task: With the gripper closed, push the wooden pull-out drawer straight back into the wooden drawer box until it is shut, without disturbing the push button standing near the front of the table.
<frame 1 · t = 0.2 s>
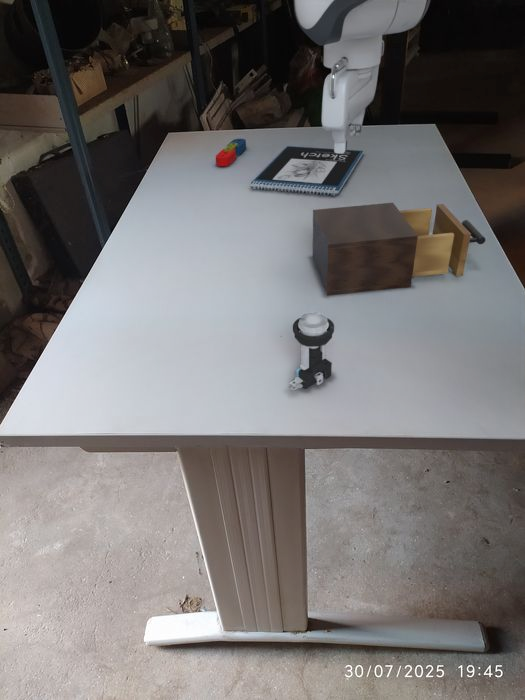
hand: (348, 143, 92), 20 cm above the table, tool pointing down, fingers open, 8 cm apart
push button: (309, 382, 75), on the table
multicolored plastic bar: (231, 158, 150), on the table
sketchbook: (309, 172, 138), on the table
wooden pull-out drawer: (427, 241, 95), point 5 cm above the table, slide at 8.0 cm
wooden drawer box: (359, 271, 97), on the table
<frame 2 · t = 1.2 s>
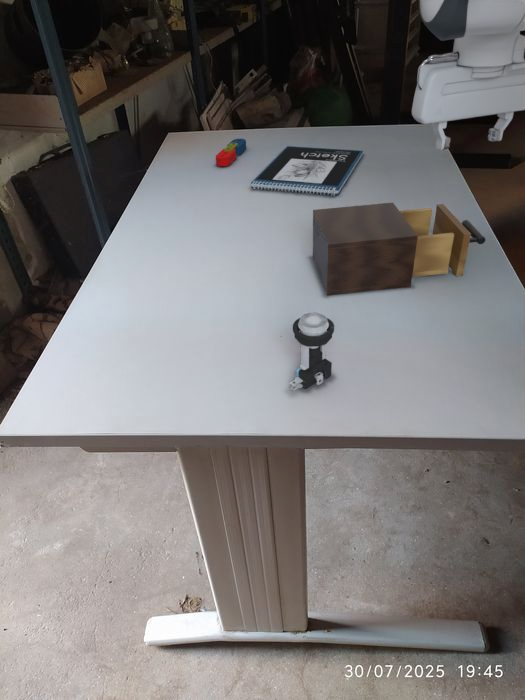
hand: (468, 144, 88), 20 cm above the table, tool pointing down, fingers open, 8 cm apart
nothing on the table moved.
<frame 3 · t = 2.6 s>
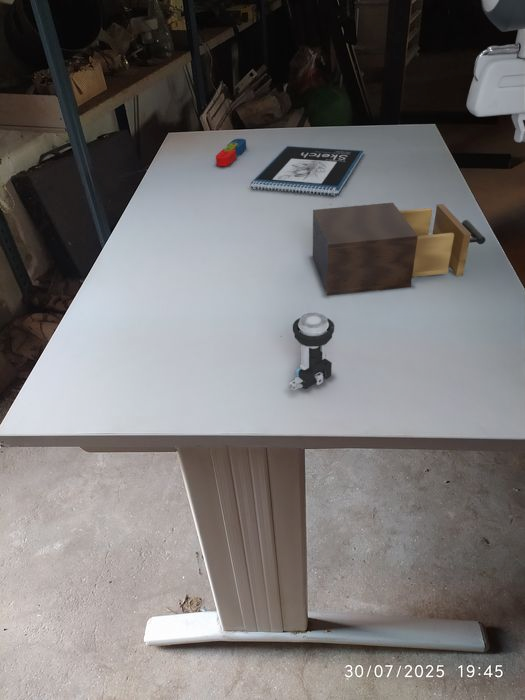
hand: (524, 140, 86), 21 cm above the table, tool pointing down, fingers closed
nothing on the table moved.
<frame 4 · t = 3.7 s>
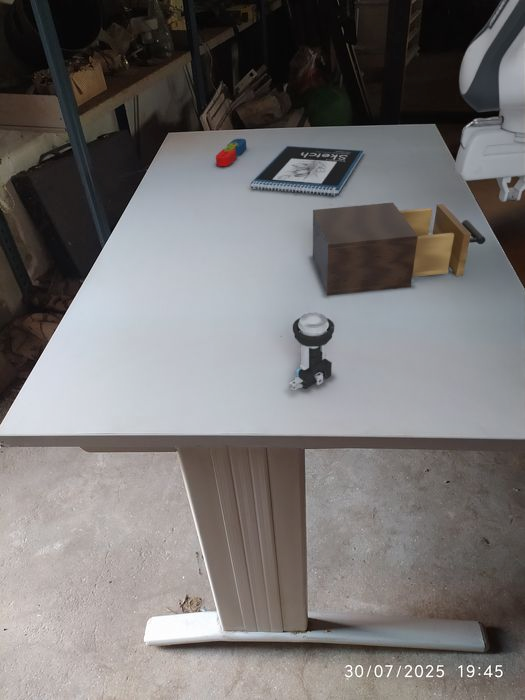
hand: (508, 199, 92), 11 cm above the table, tool pointing down, fingers closed
nothing on the table moved.
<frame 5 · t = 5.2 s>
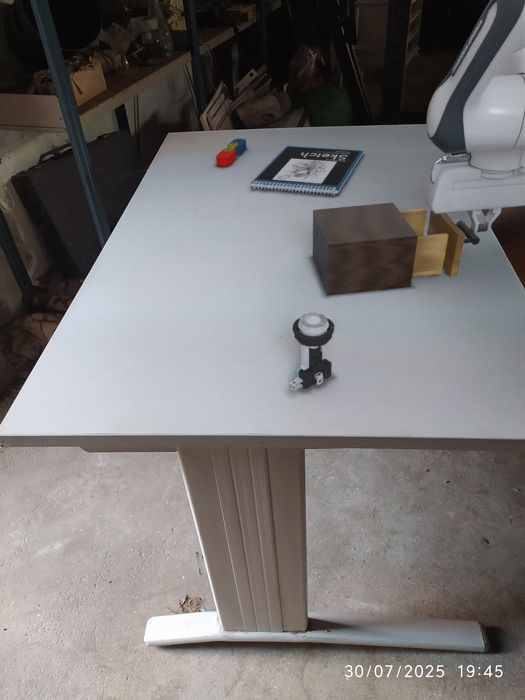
hand: (479, 230, 95), 6 cm above the table, tool pointing down, fingers closed
wooden pull-out drawer: (421, 241, 95), point 5 cm above the table, slide at 7.0 cm, touching gripper
everything else where it was.
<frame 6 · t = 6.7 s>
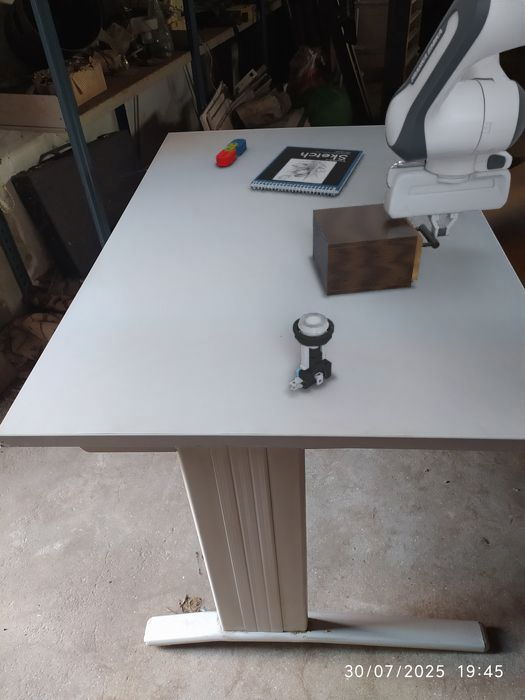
hand: (439, 235, 95), 6 cm above the table, tool pointing down, fingers closed
wooden pull-out drawer: (382, 245, 94), point 5 cm above the table, slide at 0.0 cm, touching gripper, wooden drawer box
everything else where it was.
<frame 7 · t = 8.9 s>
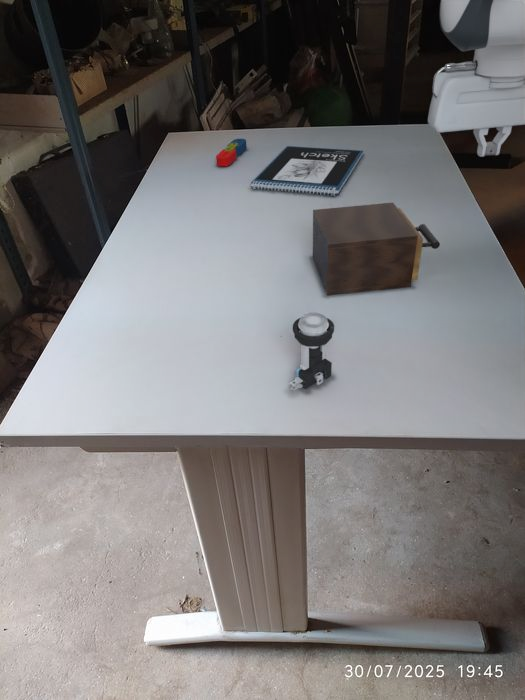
hand: (487, 155, 86), 19 cm above the table, tool pointing down, fingers closed
wooden pull-out drawer: (382, 245, 94), point 5 cm above the table, slide at 0.0 cm
everything else where it was.
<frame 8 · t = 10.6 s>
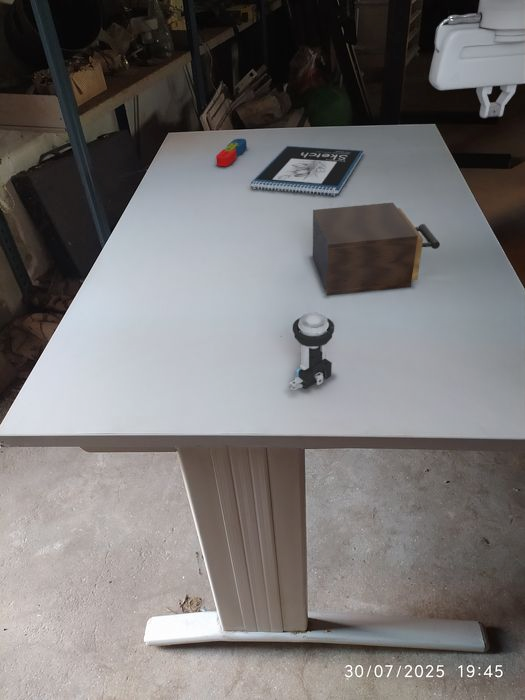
hand: (490, 116, 83), 25 cm above the table, tool pointing down, fingers closed
nothing on the table moved.
at the end: wooden pull-out drawer slide at 0.0 cm; push button moved 0.2 cm from its start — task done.
